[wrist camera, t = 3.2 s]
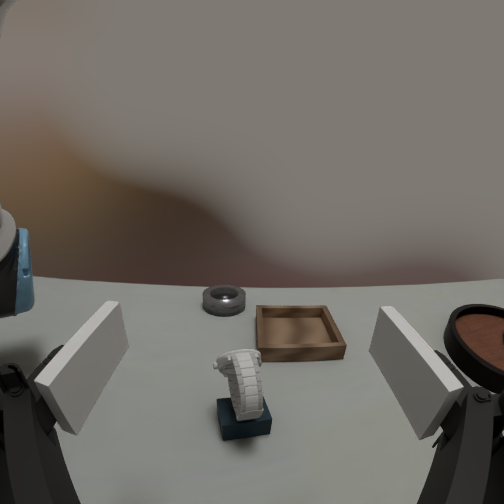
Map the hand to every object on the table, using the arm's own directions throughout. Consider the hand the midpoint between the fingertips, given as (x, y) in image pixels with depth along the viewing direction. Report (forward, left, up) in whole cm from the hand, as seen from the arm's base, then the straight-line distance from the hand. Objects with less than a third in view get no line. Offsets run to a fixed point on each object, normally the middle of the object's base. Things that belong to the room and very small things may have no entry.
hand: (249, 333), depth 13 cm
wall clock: (+49, +25, -21) cm, 59 cm away
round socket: (-12, +40, -21) cm, 46 cm away
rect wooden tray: (+3, +31, -21) cm, 37 cm away
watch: (-2, +10, -21) cm, 23 cm away
